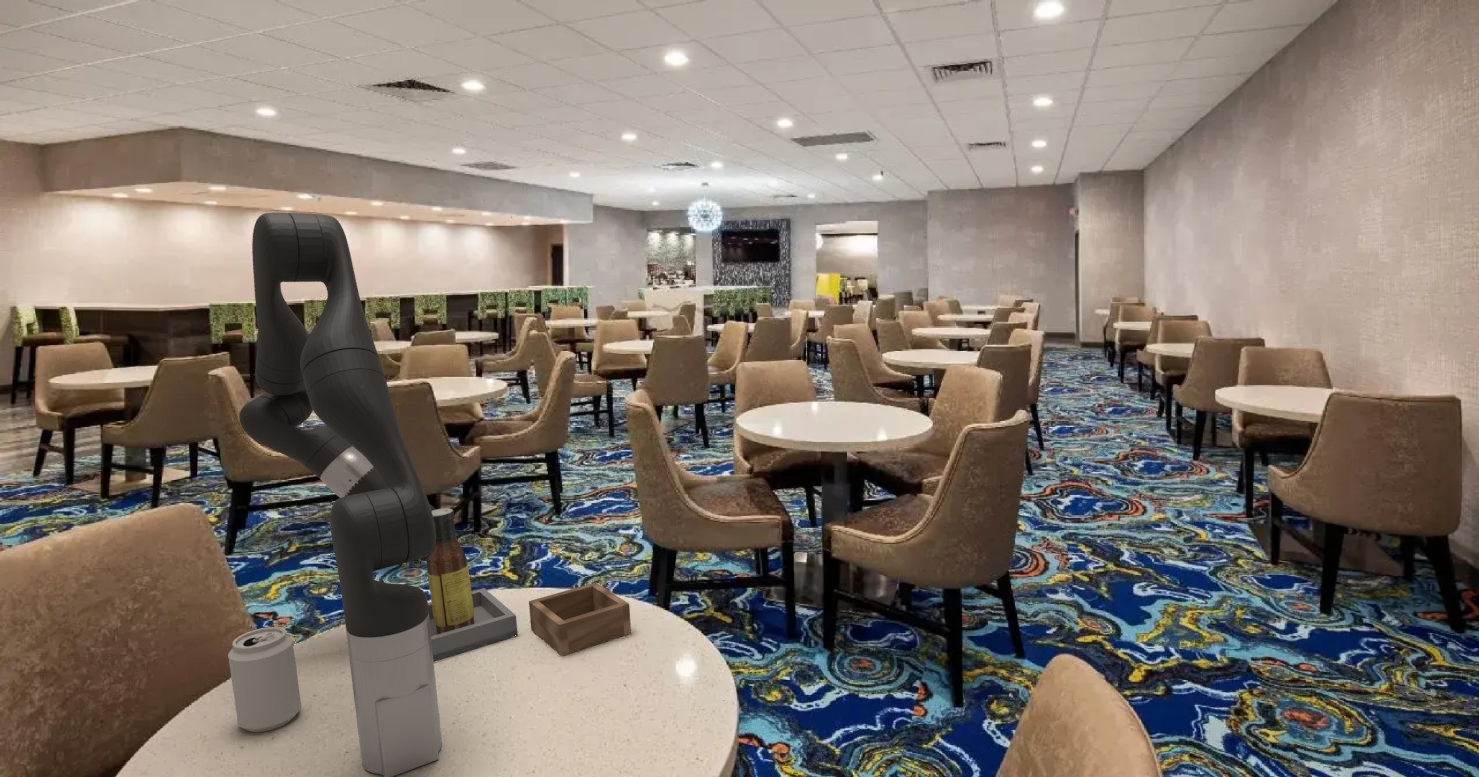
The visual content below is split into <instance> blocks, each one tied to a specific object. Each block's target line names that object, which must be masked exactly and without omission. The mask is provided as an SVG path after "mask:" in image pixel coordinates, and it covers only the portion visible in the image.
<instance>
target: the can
mask: <svg viewBox="0 0 1479 777" xmlns="http://www.w3.org/2000/svg"><path fill="white" fill-rule="evenodd" d="M231 644H232V648H231V650H230V651H229V652H228V654H227V656H228V663H229V664H228V665H229V670H230V678H231V685H232V692H233V699H234V705H235V713H236V719H237V720H236V721H237V725H238V726H239V727H240V728H241V729H245V730H246V731H248V732H254V733H261V732H262V733H263V732H267V731H270V730H274V729H277V728H280V727H282V726H285V725H286V724H288V723H289V722H291V720H293V719H294V717H295V716H296V715H297V713H298V712H300V711H301V708H302V702H301V695H300V686H299V679H298V677H299V676H298V671H297V665H296V664H297V663H296V657H295V656H296V655H295V648H294V642H293V637H291V636H289V635H287V630H286V629H285V628H283V627H278V626H267V627H262V628H258V629H253V630H250V631H248V632H244V633H243V634H240V635H239V636H238V637H235V639H234V640H233V641H232V643H231Z"/></svg>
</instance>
